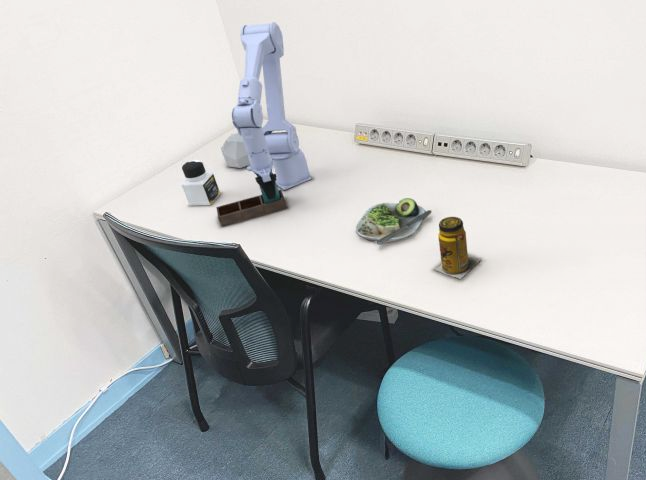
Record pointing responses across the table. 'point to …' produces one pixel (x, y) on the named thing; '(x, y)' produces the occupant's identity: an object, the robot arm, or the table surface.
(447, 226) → the condiment
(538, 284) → the table surface
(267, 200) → the jar
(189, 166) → the medicine bottle
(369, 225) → the salad plate
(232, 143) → the rock
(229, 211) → the rack
